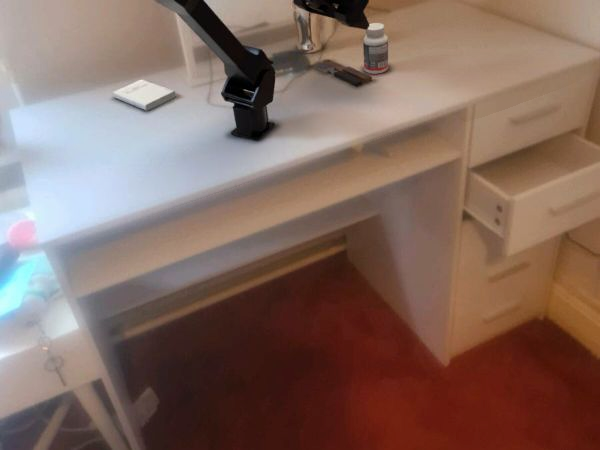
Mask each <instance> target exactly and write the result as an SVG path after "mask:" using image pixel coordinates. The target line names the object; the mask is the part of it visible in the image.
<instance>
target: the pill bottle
mask: <svg viewBox="0 0 600 450" xmlns="http://www.w3.org/2000/svg"><path fill="white" fill-rule="evenodd" d="M385 31H386V30H385V25H384V24H383V23H381V22H373V23H369V27H368V29H367V30H365V36H364V37H363V39H362V46H363V47H362V49H363V70H364V71H365V72H366V73H368V74H374V75H378V74H381V73H385V72H387V71H388V70H389V37H388V35H386V34H385Z"/></svg>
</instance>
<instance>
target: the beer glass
mask: <svg viewBox="0 0 600 450" xmlns="http://www.w3.org/2000/svg"><path fill="white" fill-rule="evenodd" d="M290 7H291V13H292V18H293V22H294V26H295V28H296V32H297V33H296V34H297V51H298V50H301V51H302V52H303V53H302V52H301V53H302V54H312V53H317V52H319V51H321V50H322V48H323V43H322V39H321V34H320V25H321V15H318V14H314V13H311V12H308V11H305V10H303V9H301V8H299V7H297V6H296V5H295V4H294V3H293V0H290Z"/></svg>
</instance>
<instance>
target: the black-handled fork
mask: <svg viewBox="0 0 600 450" xmlns="http://www.w3.org/2000/svg"><path fill="white" fill-rule="evenodd" d="M311 68H313V69H315V70H317V71H319V72H321V73H323V74H325V75H327V74H331V75H333V76H334V77H335V78H337V79H339V80H342V81H344V82H345V83H348V84H350V85H351V86H354V87H356V88H357V87H360V86H363V82H362V81H361V80H359V79H357V78H355V77H353V76H351V75H348V74H346V73H344V72H342V71H340V70H339V71H337V70H335V68H333V67H330V66H328V65H326V64H323V63H322V61H319V62H317V63H314V64H311Z"/></svg>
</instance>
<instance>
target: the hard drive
mask: <svg viewBox="0 0 600 450" xmlns="http://www.w3.org/2000/svg"><path fill="white" fill-rule="evenodd" d="M112 94H113V98H115V99H118V100H120V101H122V102H124V103H127V104H129V105H132V106H134V107H137V108H139V109H141V110H144V111H146V112H148V111H151V110H153V109H155V108H157V107H159V106H161V105H163V104H166V103H168V102H169V101H171V100H174V99H175V98H177V93H176V90H173V89H170V88H167V87H164V86H162V85H158V84H156V83H153V82H150V81H147V80H145V79H139V80H136V81H135V82H132V83H130V84H128V85H126V86H123V87H121V88H119V89H117V90H116V89H115V90H114V91H113V92H112Z"/></svg>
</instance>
